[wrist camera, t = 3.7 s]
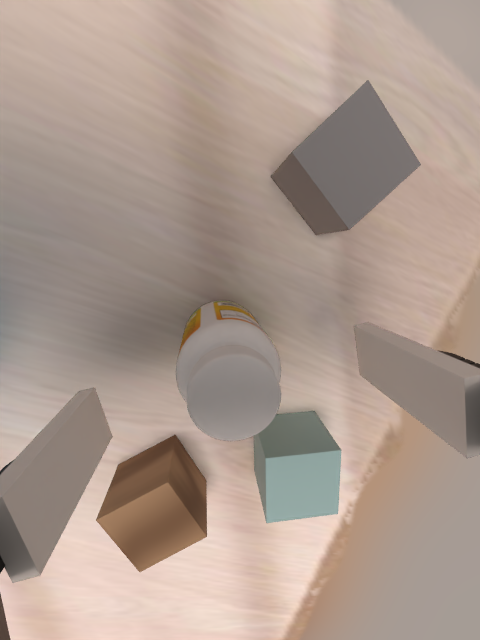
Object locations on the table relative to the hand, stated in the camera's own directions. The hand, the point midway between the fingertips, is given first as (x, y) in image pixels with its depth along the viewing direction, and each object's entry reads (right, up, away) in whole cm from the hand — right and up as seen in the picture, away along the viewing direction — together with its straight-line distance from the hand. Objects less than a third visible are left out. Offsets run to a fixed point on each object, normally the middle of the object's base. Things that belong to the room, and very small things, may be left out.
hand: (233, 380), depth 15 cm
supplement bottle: (-1, +2, +7) cm, 7 cm away
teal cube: (+4, -7, +10) cm, 12 cm away
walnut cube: (-6, -9, +9) cm, 14 cm away
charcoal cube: (+6, +12, +5) cm, 15 cm away
